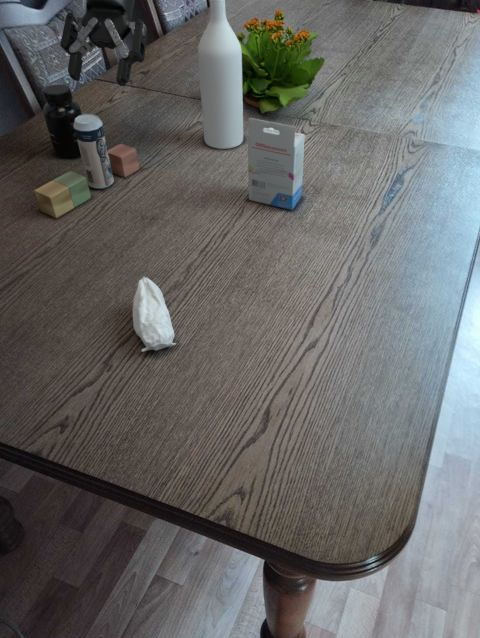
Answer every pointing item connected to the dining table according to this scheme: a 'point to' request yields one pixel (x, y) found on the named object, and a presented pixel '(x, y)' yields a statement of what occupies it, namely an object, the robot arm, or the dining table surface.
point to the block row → (82, 183)
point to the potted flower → (276, 63)
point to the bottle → (221, 81)
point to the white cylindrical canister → (93, 150)
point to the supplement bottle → (61, 120)
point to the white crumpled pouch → (152, 317)
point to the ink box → (275, 163)
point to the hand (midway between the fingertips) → (97, 81)
